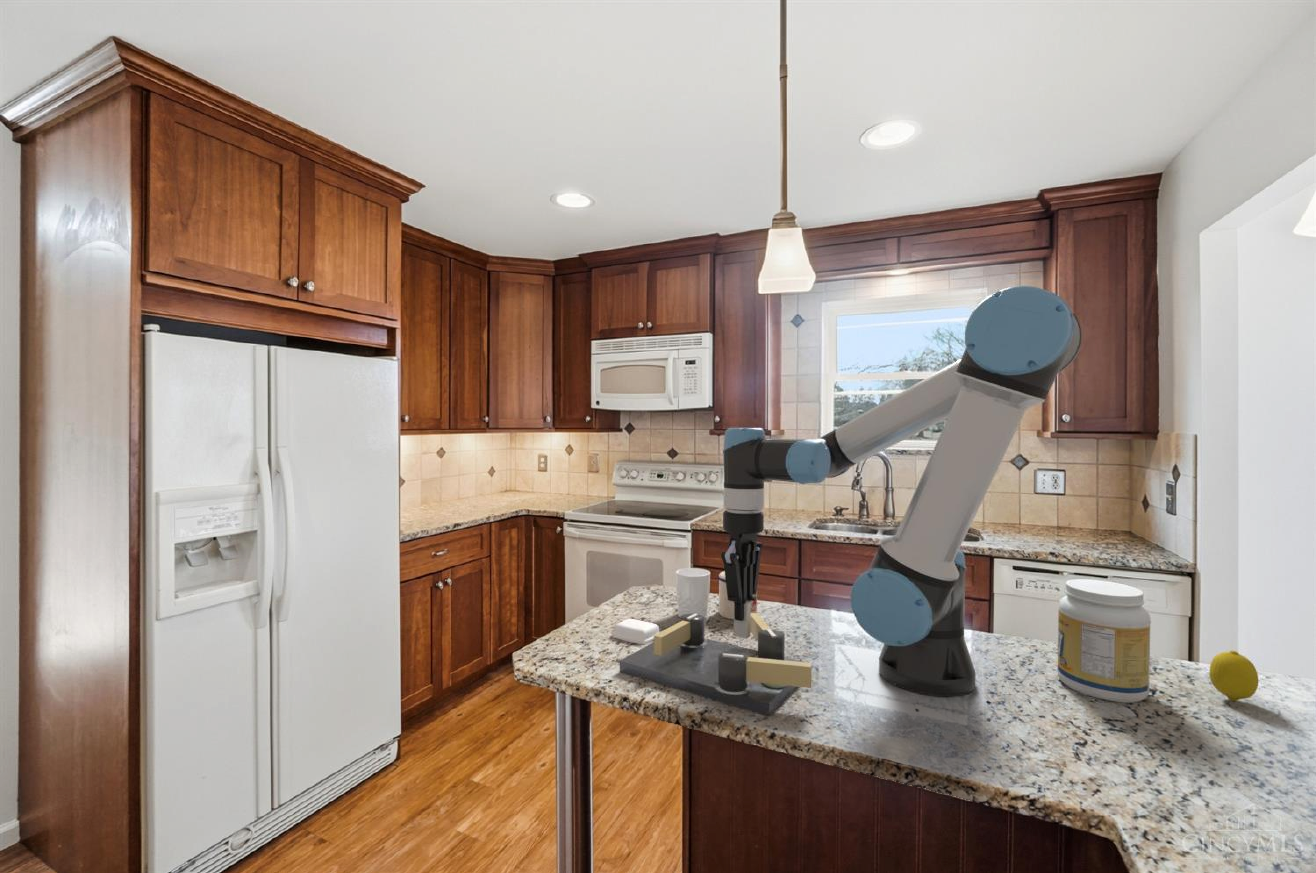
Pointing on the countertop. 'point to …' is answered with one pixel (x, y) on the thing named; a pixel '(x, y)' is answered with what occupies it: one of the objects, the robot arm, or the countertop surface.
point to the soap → (635, 631)
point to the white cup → (692, 591)
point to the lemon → (1233, 675)
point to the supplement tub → (1104, 640)
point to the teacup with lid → (724, 604)
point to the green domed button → (774, 685)
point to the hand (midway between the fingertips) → (742, 635)
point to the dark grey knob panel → (703, 674)
